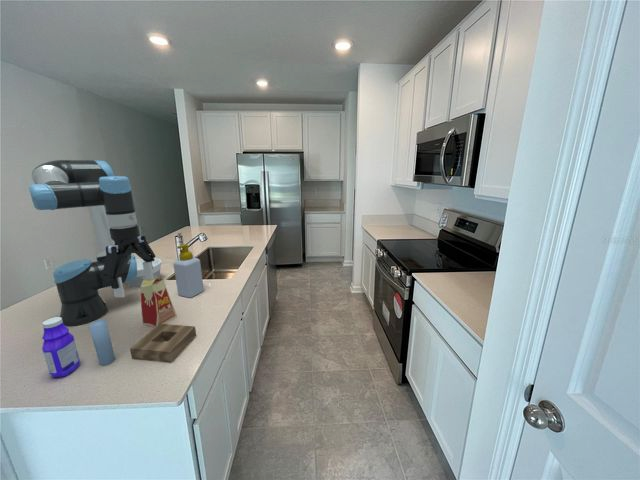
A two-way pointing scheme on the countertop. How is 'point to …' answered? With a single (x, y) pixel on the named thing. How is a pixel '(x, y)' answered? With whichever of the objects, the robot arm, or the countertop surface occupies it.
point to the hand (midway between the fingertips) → (136, 287)
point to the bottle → (59, 348)
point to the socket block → (157, 349)
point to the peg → (102, 342)
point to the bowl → (140, 272)
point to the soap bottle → (188, 273)
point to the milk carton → (156, 303)
